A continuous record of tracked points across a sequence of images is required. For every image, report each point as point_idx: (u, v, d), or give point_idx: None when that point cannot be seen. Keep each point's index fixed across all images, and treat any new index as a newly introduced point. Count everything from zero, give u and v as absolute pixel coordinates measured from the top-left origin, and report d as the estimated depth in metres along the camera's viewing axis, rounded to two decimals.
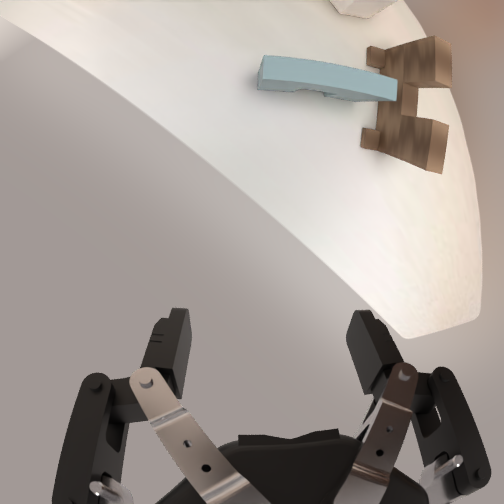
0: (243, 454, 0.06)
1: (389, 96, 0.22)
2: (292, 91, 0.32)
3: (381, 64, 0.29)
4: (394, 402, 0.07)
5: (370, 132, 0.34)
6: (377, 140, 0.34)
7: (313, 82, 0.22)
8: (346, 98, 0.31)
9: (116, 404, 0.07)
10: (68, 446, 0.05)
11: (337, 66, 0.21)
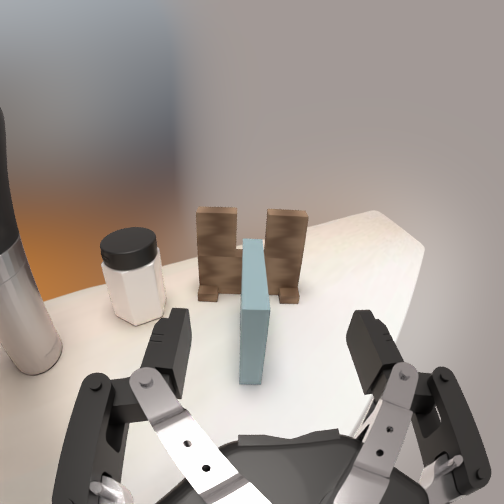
0: (243, 454, 0.06)
1: (259, 242, 0.36)
2: None
3: (215, 287, 0.44)
4: (394, 402, 0.07)
5: (283, 293, 0.44)
6: (288, 288, 0.45)
7: (265, 279, 0.28)
8: None
9: (116, 404, 0.07)
10: (69, 446, 0.05)
11: (244, 266, 0.30)
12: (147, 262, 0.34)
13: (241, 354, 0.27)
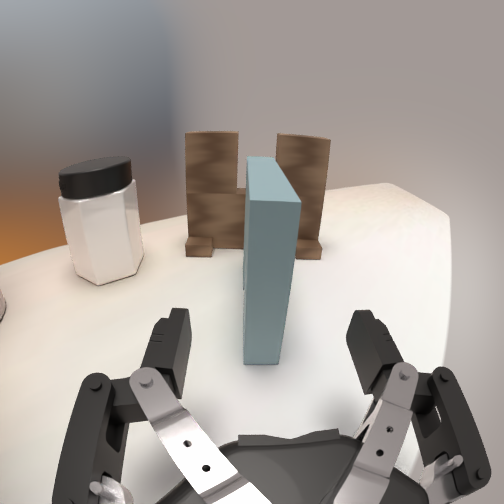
0: (243, 454, 0.06)
1: (270, 158, 0.25)
2: None
3: (209, 238, 0.33)
4: (394, 402, 0.07)
5: (300, 245, 0.33)
6: (306, 240, 0.34)
7: (285, 178, 0.17)
8: None
9: (116, 404, 0.07)
10: (68, 446, 0.05)
11: (250, 170, 0.19)
12: (114, 187, 0.23)
13: (247, 304, 0.16)
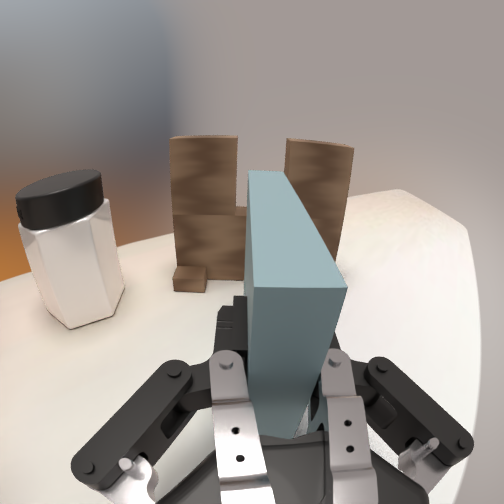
0: None
1: (279, 173, 0.19)
2: None
3: (201, 269, 0.27)
4: (337, 393, 0.08)
5: None
6: None
7: (308, 218, 0.11)
8: None
9: (196, 390, 0.09)
10: (118, 418, 0.07)
11: (254, 198, 0.13)
12: (77, 214, 0.17)
13: None
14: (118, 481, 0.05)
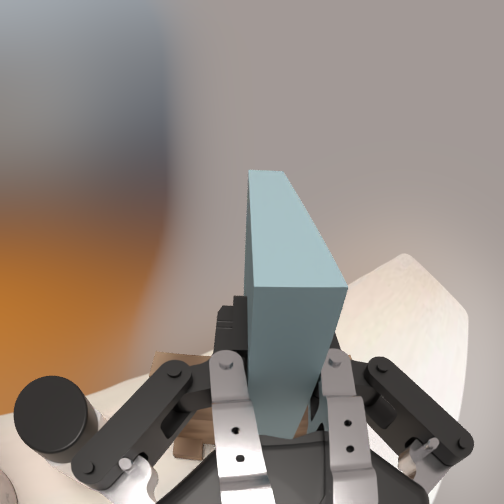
0: None
1: (279, 173, 0.19)
2: None
3: (198, 443, 0.24)
4: (337, 393, 0.08)
5: None
6: None
7: (308, 217, 0.11)
8: None
9: (196, 390, 0.09)
10: (118, 418, 0.07)
11: (254, 198, 0.13)
12: None
13: None
14: (118, 481, 0.05)
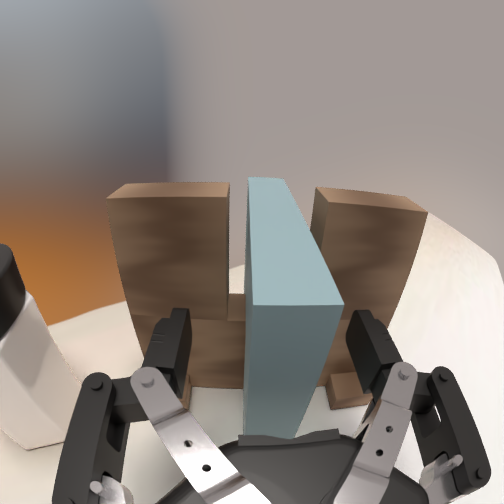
0: (243, 454, 0.06)
1: (279, 180, 0.19)
2: None
3: None
4: (393, 402, 0.07)
5: (341, 390, 0.17)
6: (349, 375, 0.18)
7: (307, 230, 0.11)
8: None
9: (117, 404, 0.08)
10: (69, 446, 0.05)
11: (253, 209, 0.13)
12: None
13: (248, 415, 0.10)
14: None
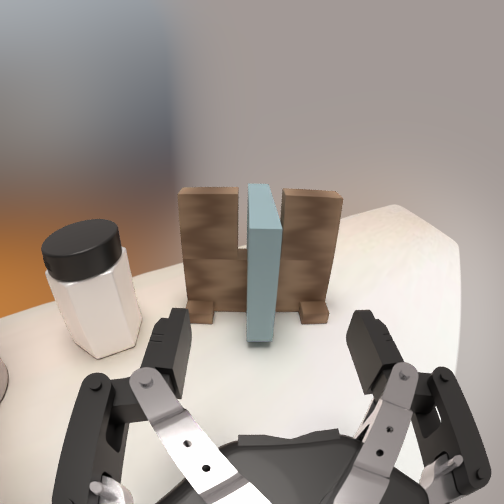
0: (243, 454, 0.06)
1: (266, 185, 0.32)
2: None
3: (209, 303, 0.31)
4: (394, 402, 0.07)
5: (306, 310, 0.30)
6: (313, 302, 0.31)
7: (274, 208, 0.25)
8: None
9: (116, 404, 0.07)
10: (68, 446, 0.05)
11: (250, 200, 0.27)
12: (102, 268, 0.21)
13: (249, 295, 0.24)
14: None
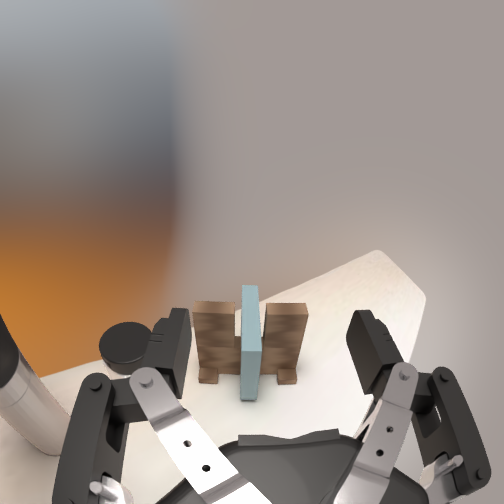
0: (243, 454, 0.06)
1: (255, 288, 0.44)
2: None
3: (215, 370, 0.42)
4: (394, 402, 0.07)
5: (281, 376, 0.42)
6: (286, 370, 0.43)
7: (259, 324, 0.37)
8: None
9: (116, 404, 0.07)
10: (69, 446, 0.05)
11: (243, 313, 0.39)
12: None
13: (241, 379, 0.35)
14: None
